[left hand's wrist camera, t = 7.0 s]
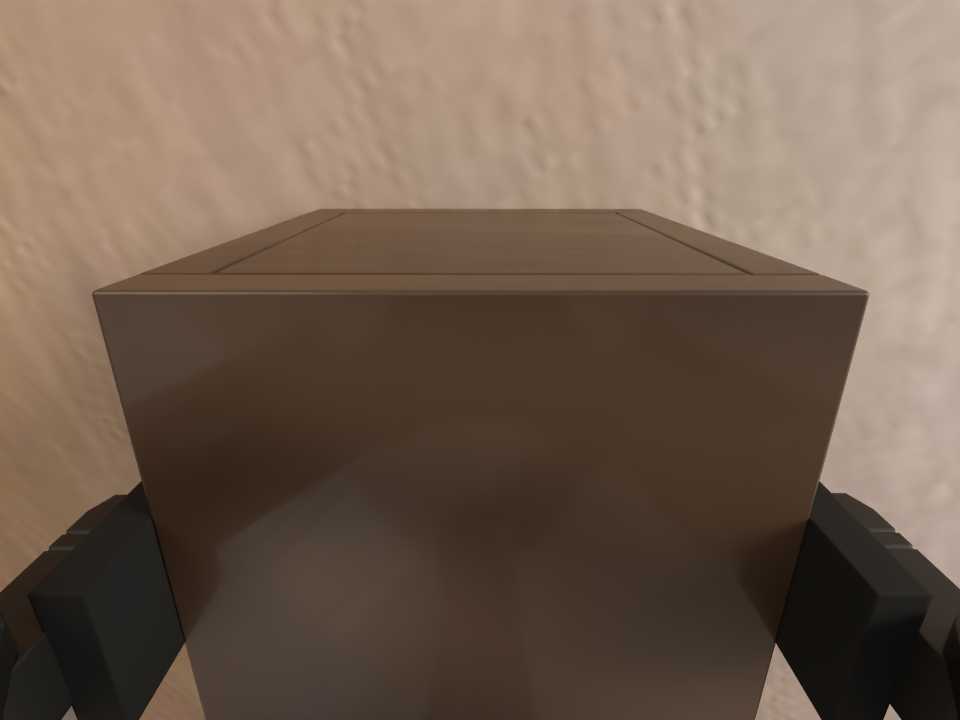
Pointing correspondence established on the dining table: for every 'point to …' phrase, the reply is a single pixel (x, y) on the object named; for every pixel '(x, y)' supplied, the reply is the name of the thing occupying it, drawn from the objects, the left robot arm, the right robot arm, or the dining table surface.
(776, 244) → the dining table surface
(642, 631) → the cabinet
